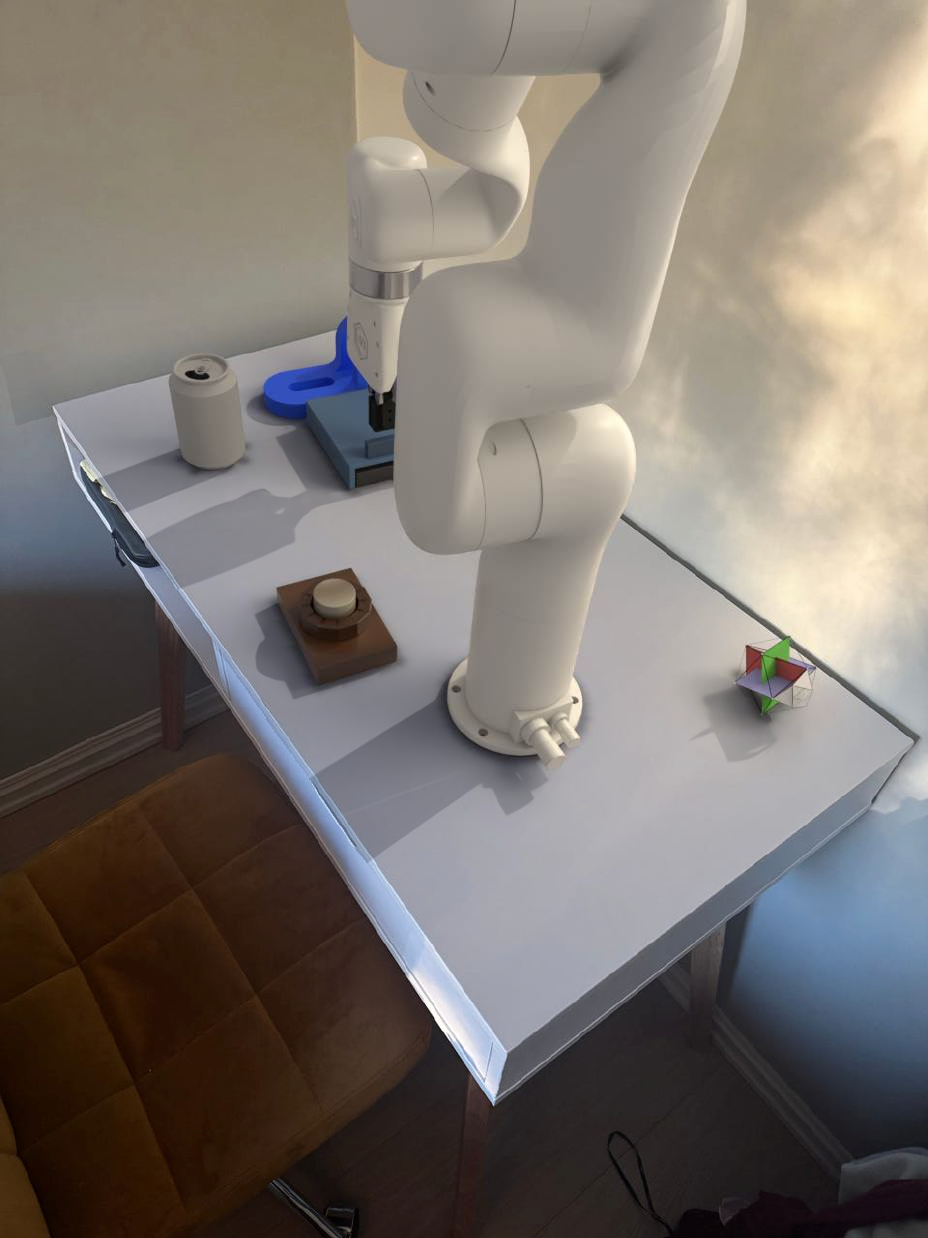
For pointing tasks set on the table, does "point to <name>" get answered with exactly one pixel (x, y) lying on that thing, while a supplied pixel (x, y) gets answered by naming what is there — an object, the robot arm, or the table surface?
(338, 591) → the bell button
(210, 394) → the can
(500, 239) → the robot arm
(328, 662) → the brown wooden stand
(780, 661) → the geometric puzzle
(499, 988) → the table surface
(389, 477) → the calculator
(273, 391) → the bracket
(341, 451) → the cover
